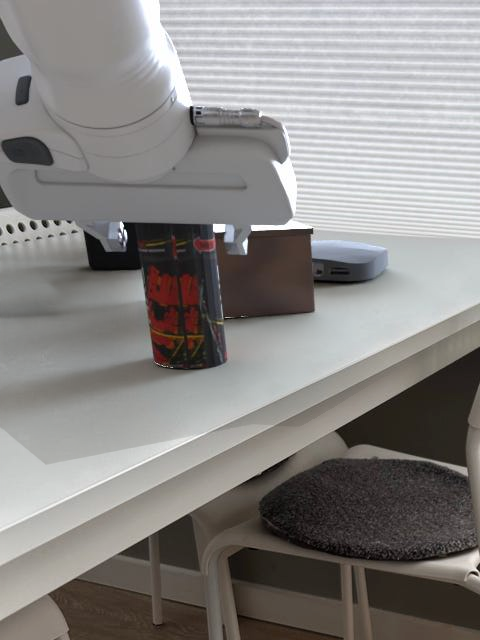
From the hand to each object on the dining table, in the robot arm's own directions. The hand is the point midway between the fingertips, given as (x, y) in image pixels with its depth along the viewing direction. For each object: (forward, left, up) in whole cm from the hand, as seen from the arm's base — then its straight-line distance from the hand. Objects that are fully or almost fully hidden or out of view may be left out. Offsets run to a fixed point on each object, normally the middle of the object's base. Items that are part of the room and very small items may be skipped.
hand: (178, 246), depth 75 cm
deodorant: (0, 0, -9) cm, 9 cm away
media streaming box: (+27, +35, -9) cm, 45 cm away
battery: (+5, +47, -9) cm, 48 cm away
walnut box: (+11, +20, -9) cm, 25 cm away
